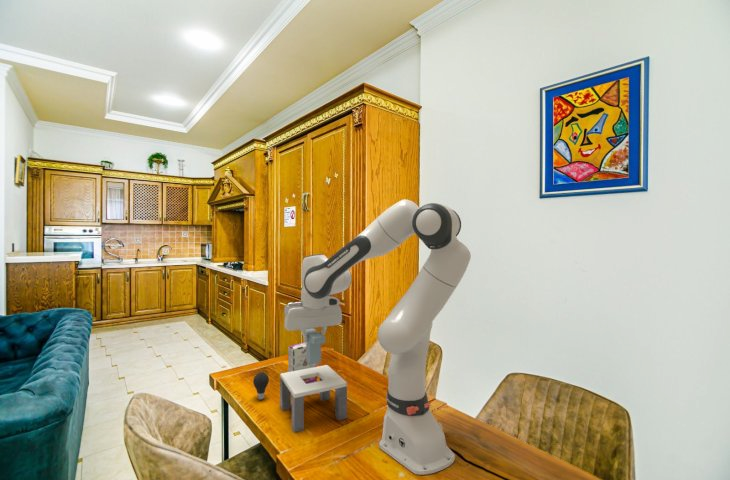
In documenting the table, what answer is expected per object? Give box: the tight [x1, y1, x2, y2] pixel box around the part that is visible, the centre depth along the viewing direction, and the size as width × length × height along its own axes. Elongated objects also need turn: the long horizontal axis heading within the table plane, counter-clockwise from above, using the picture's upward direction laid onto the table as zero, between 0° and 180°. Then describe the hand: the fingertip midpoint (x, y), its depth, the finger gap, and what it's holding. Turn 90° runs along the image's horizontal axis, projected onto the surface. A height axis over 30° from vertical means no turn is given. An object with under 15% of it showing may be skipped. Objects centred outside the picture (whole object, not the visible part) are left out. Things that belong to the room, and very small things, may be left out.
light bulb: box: [252, 371, 270, 401], centre depth 123 cm, size 6×6×10 cm
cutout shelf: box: [279, 364, 348, 434], centre depth 114 cm, size 18×18×12 cm
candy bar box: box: [287, 342, 318, 384], centre depth 137 cm, size 11×5×16 cm, turn 131°
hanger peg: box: [304, 328, 326, 365], centre depth 115 cm, size 12×4×10 cm, turn 28°
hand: (313, 340), depth 115 cm, fingers closed on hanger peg, 4 cm apart
